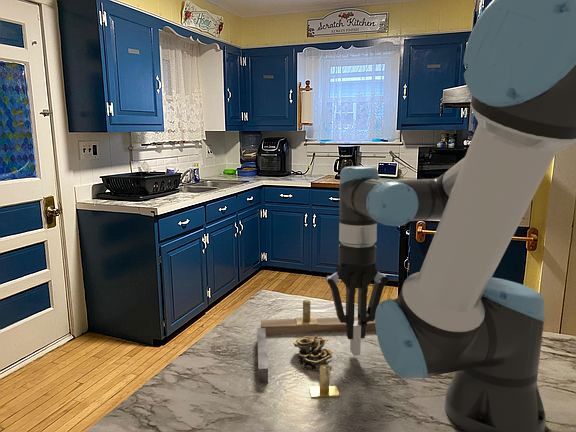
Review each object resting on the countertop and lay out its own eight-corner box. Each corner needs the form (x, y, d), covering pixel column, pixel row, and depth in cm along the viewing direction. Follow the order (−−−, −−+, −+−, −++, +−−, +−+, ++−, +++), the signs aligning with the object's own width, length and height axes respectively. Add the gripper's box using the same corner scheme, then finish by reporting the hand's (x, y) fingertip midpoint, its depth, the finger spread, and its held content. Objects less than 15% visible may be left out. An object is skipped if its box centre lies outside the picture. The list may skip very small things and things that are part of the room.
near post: (339, 396, 80) (339, 371, 79) (311, 397, 79) (312, 372, 78) (336, 387, 83) (336, 362, 82) (309, 388, 82) (309, 363, 81)
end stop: (268, 383, 84) (268, 368, 84) (258, 383, 84) (258, 368, 83) (265, 340, 102) (265, 328, 101) (257, 340, 102) (257, 328, 101)
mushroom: (333, 372, 88) (333, 352, 87) (295, 373, 88) (295, 353, 87) (326, 345, 100) (326, 327, 99) (293, 346, 100) (293, 328, 99)
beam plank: (385, 330, 107) (386, 302, 106) (261, 334, 105) (260, 305, 103) (380, 323, 111) (381, 296, 110) (260, 327, 109) (260, 299, 107)
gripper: (382, 238, 94) (379, 343, 98) (322, 240, 93) (321, 346, 96) (395, 246, 87) (391, 359, 91) (329, 248, 85) (328, 362, 89)
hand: (355, 352), depth 93 cm, fingers closed
